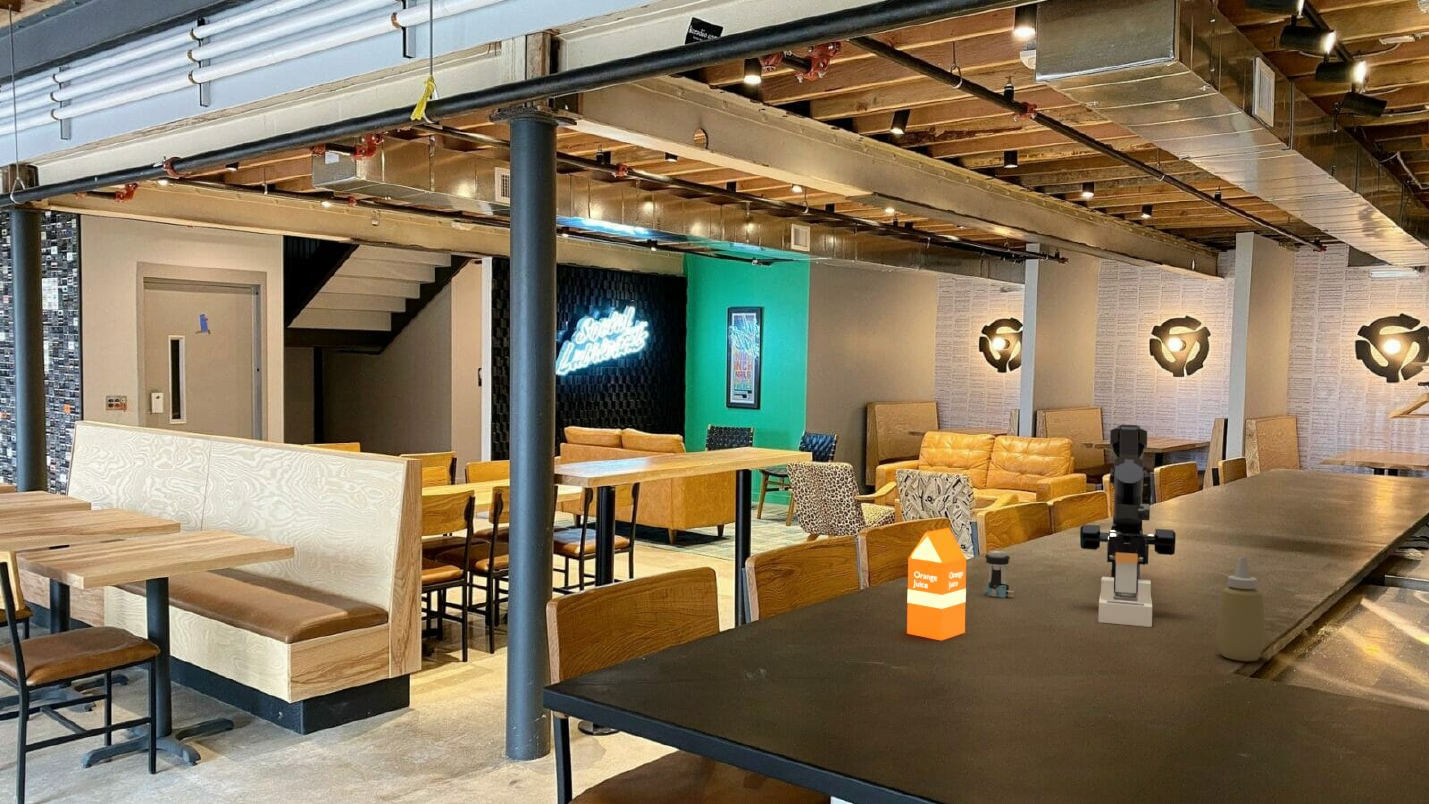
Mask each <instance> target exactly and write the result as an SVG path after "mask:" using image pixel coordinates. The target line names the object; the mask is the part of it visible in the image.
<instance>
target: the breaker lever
mask: <svg viewBox="0 0 1429 804" xmlns="http://www.w3.org/2000/svg"><path fill="white" fill-rule="evenodd" d="M1137 559H1139V558H1138V554H1133V553H1119V552H1116V559H1115V562H1116V581H1115V589H1114V594H1115V596H1117V597H1129V598H1136V595H1137V590H1136V580H1137Z"/></svg>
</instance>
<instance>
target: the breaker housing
mask: <svg viewBox="0 0 1429 804" xmlns="http://www.w3.org/2000/svg"><path fill="white" fill-rule="evenodd" d="M1100 583H1101V584H1100V585H1101V587H1100V593H1099V601H1098V623H1102V624H1113V625H1115V624H1116V625H1125V626H1136V627H1147V628H1152V627H1153V601H1152V596H1151V592H1152V583H1151V579H1140V580H1139V579H1138V590H1137V594H1136V598H1129V597H1117V596H1115V589H1114V578H1113V577H1111V576H1101V581H1100Z"/></svg>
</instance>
